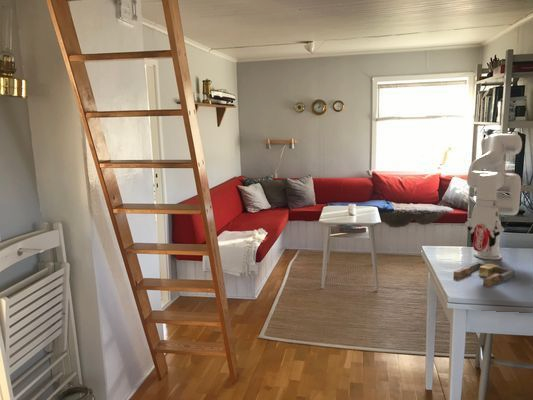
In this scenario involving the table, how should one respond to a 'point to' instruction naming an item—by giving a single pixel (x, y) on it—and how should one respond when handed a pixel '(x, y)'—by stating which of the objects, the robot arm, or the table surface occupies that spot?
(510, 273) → the grey u-shaped frame
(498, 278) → the slot rails
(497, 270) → the wooden cube
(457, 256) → the table surface
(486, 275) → the tan wooden cube
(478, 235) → the soda can
